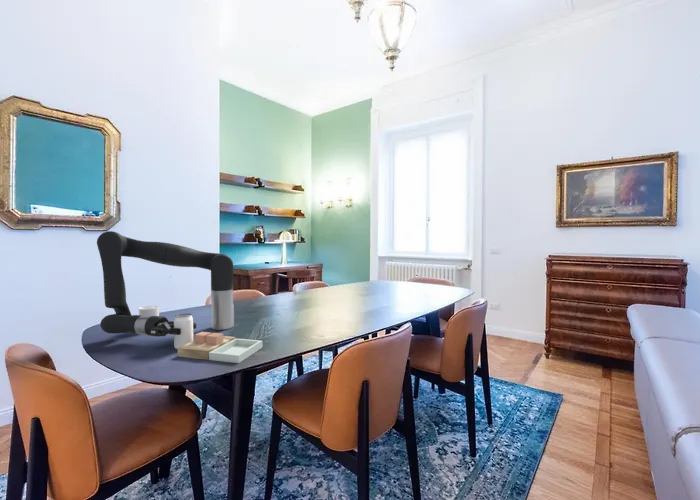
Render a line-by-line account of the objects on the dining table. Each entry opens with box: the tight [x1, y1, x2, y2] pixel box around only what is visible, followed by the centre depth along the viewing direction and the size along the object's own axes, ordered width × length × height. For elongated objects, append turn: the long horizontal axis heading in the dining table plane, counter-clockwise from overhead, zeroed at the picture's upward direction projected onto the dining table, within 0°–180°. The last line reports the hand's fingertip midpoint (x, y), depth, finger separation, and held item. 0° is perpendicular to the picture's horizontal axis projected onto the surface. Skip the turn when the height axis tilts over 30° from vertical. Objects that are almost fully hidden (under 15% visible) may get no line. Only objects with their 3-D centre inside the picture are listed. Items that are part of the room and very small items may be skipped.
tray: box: [208, 337, 263, 364], centre depth 121 cm, size 16×11×2 cm
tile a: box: [193, 331, 212, 344], centre depth 124 cm, size 4×4×3 cm
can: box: [173, 312, 194, 350], centre depth 127 cm, size 6×6×12 cm
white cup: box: [137, 305, 160, 316], centre depth 148 cm, size 8×8×10 cm
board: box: [177, 335, 236, 361], centre depth 123 cm, size 16×12×3 cm
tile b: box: [207, 332, 224, 345], centre depth 122 cm, size 4×4×3 cm
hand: (188, 328), depth 126 cm, fingers open, 7 cm apart
